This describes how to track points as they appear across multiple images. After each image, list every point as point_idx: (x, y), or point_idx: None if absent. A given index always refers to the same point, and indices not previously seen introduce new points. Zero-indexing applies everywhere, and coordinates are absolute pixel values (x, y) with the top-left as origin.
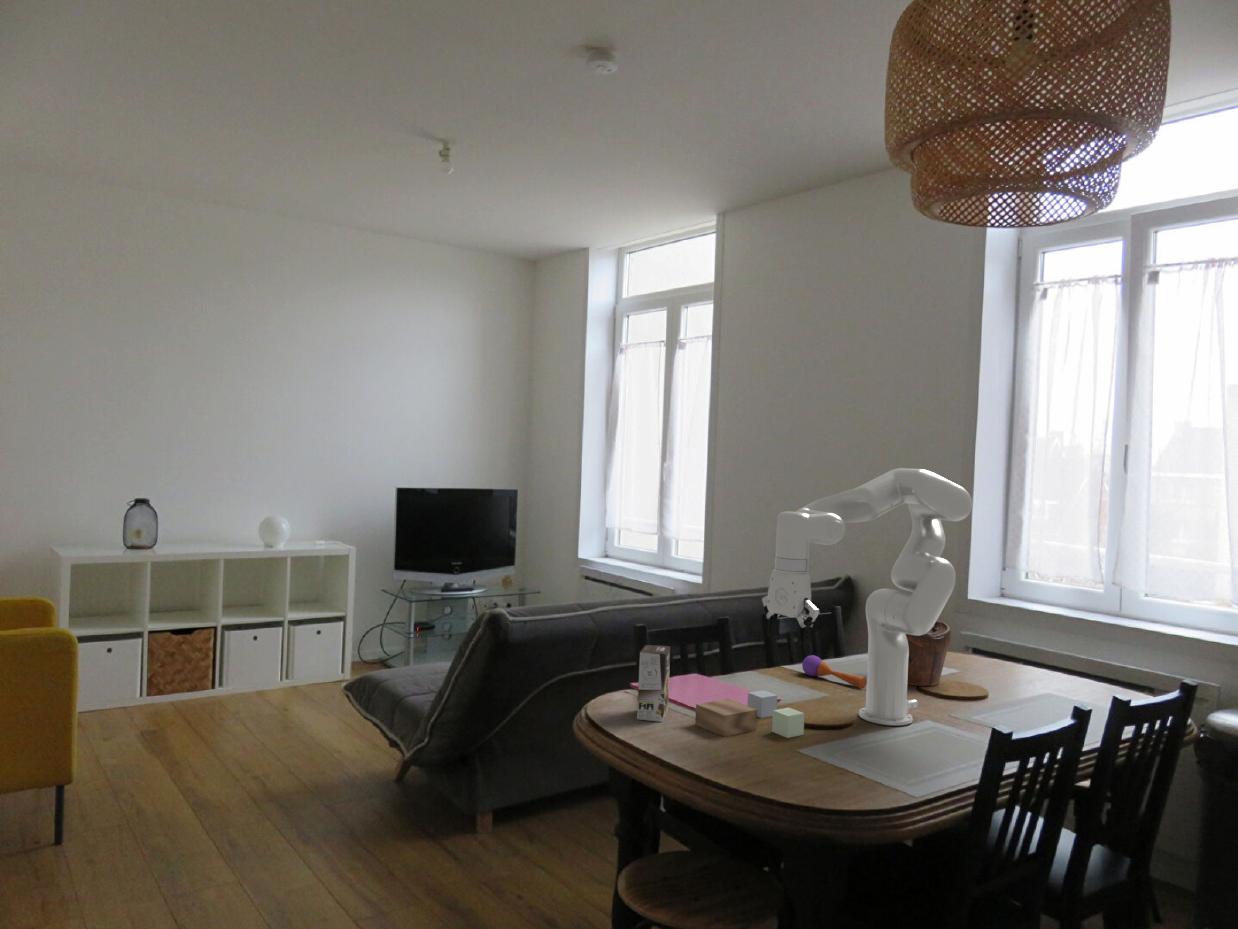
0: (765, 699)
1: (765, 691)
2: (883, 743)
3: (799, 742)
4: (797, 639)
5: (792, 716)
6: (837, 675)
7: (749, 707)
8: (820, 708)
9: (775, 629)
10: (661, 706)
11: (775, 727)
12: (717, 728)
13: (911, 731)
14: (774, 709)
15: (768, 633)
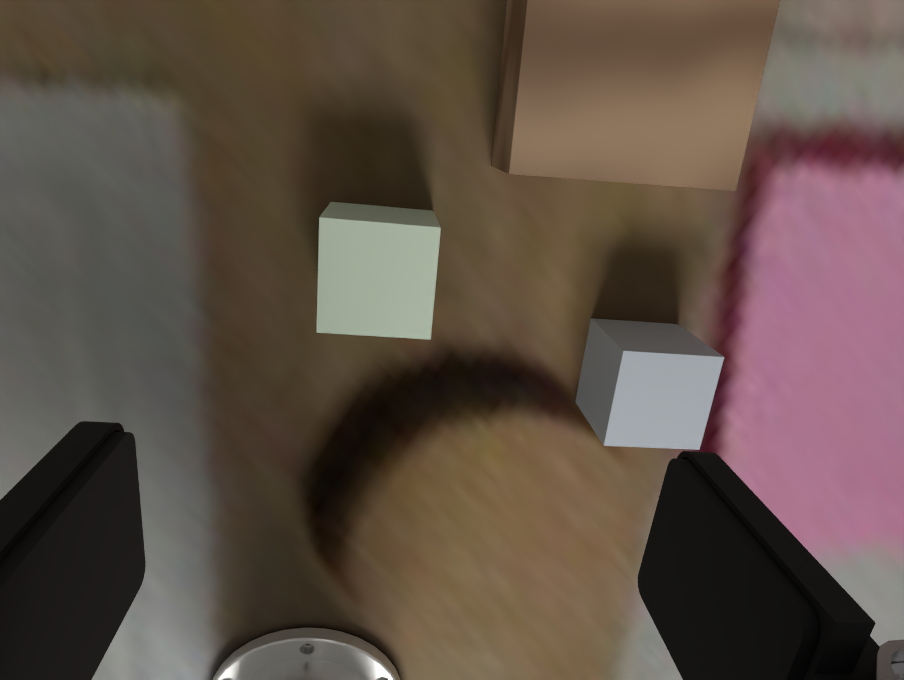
0: (614, 369)
1: (679, 444)
2: None
3: (257, 200)
4: (104, 462)
5: (319, 247)
6: None
7: (561, 167)
8: (527, 602)
9: (685, 589)
10: None
11: (413, 212)
12: None
13: (153, 669)
14: (586, 402)
15: (710, 465)
